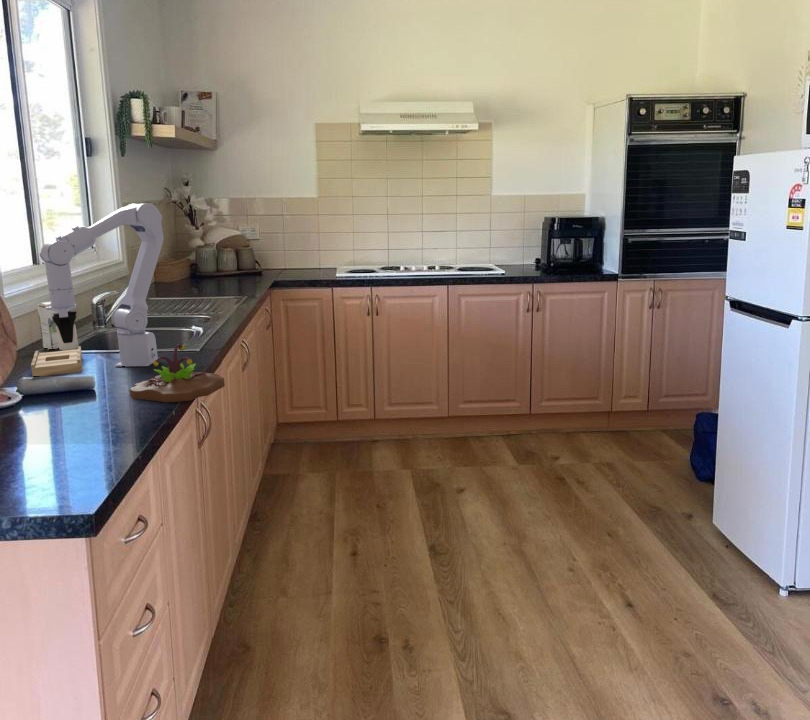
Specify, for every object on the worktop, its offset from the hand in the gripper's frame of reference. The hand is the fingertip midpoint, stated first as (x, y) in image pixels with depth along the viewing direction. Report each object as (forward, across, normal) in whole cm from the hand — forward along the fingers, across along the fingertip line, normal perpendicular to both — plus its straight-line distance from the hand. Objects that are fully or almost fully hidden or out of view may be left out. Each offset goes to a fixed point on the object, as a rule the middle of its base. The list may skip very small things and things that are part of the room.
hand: (68, 340), depth 200 cm
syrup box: (+10, -44, -5) cm, 46 cm away
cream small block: (+2, 0, 0) cm, 2 cm away
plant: (+10, +30, +24) cm, 39 cm away
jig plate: (+9, -14, -4) cm, 17 cm away
